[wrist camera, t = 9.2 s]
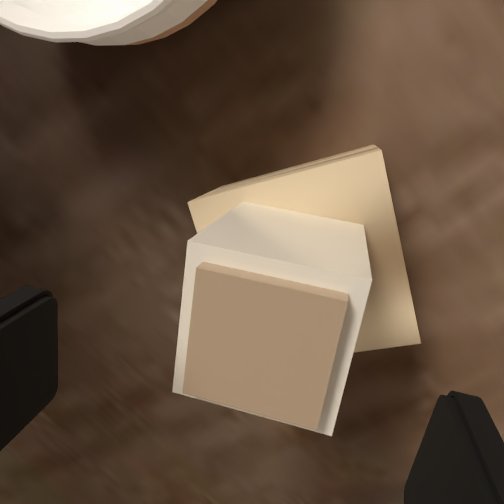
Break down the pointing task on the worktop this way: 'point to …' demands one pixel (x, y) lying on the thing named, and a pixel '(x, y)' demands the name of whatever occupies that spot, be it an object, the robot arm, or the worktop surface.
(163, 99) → the worktop surface
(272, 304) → the white cube
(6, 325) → the robot arm
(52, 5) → the bowl
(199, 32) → the worktop surface
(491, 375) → the worktop surface
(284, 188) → the block
